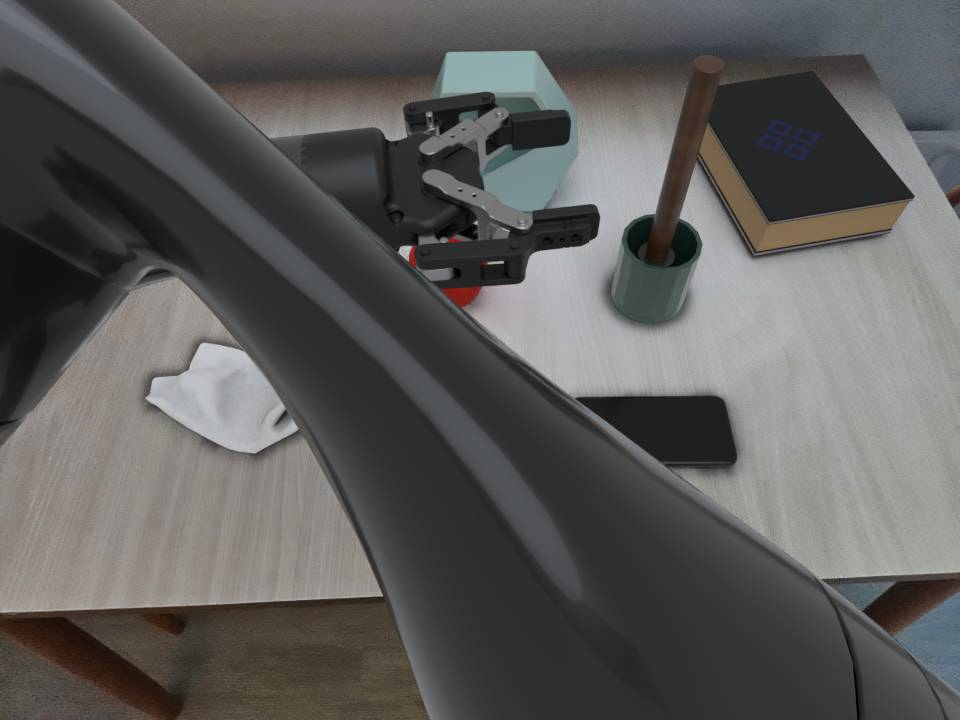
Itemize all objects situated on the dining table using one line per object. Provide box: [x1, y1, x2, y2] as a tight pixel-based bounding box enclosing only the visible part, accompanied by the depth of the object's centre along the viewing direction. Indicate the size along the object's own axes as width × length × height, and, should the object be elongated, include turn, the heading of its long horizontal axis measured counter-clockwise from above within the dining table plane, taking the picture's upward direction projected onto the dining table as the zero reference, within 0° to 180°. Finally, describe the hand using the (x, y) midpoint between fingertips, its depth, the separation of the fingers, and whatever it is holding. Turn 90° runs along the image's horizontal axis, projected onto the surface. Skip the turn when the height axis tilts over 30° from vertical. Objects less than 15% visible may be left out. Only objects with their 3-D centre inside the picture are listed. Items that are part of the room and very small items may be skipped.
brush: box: [636, 54, 725, 268], centre depth 62 cm, size 4×4×28 cm
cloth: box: [144, 342, 299, 454], centre depth 69 cm, size 26×14×2 cm, turn 85°
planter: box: [429, 50, 580, 213], centre depth 78 cm, size 17×8×21 cm
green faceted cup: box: [610, 213, 703, 324], centre depth 71 cm, size 8×8×9 cm
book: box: [697, 70, 916, 257], centre depth 82 cm, size 17×25×7 cm
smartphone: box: [573, 395, 739, 468], centre depth 65 cm, size 8×1×16 cm
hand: (582, 171), depth 39 cm, fingers open, 8 cm apart
